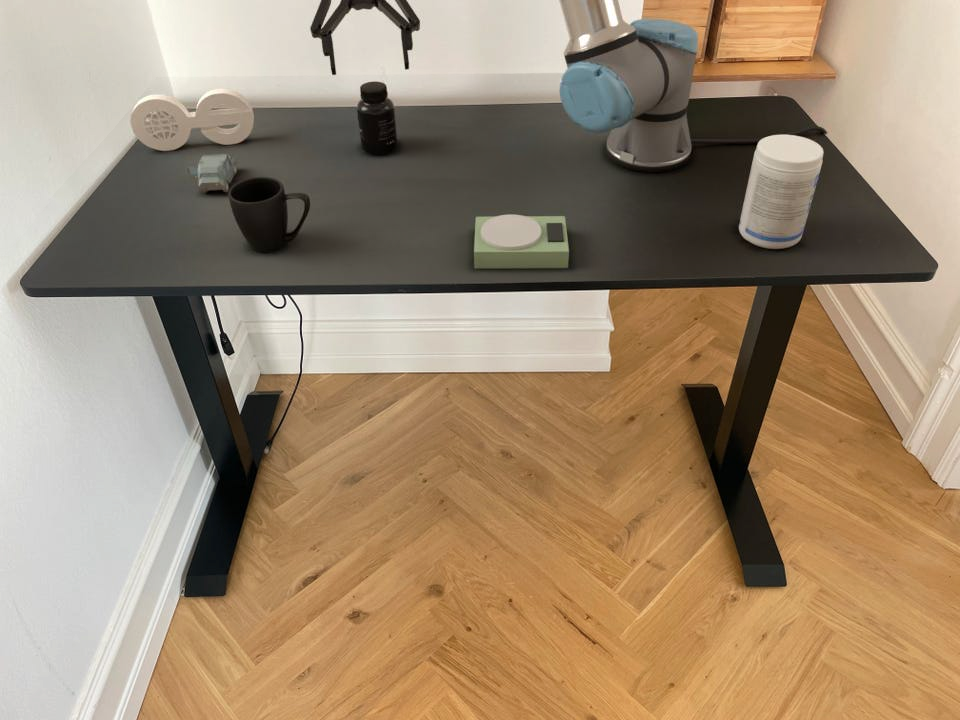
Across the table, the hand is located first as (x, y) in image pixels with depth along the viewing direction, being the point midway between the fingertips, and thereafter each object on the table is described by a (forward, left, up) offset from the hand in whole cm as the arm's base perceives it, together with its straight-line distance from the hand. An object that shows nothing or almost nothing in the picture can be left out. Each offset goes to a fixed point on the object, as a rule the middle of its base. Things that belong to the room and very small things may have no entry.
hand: (370, 69), depth 145 cm
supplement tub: (-66, +38, -13) cm, 78 cm away
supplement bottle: (-1, +7, -13) cm, 15 cm away
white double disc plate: (+34, +5, -13) cm, 36 cm away
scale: (-27, +42, -12) cm, 52 cm away
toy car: (+27, +20, -13) cm, 36 cm away
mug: (+11, +40, -13) cm, 43 cm away
